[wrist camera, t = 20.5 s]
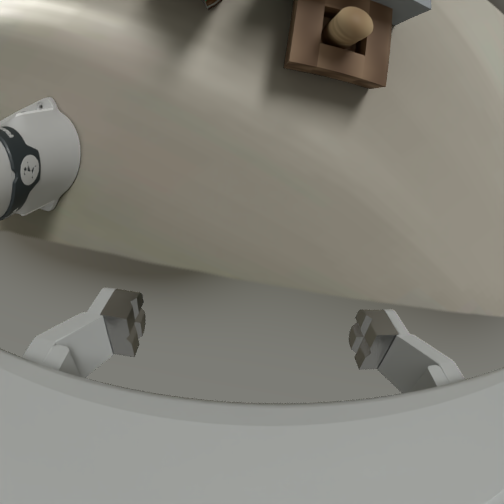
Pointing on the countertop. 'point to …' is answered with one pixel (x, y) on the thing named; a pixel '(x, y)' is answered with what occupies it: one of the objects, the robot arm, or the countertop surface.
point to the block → (333, 58)
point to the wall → (405, 8)
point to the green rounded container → (211, 3)
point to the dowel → (347, 28)
